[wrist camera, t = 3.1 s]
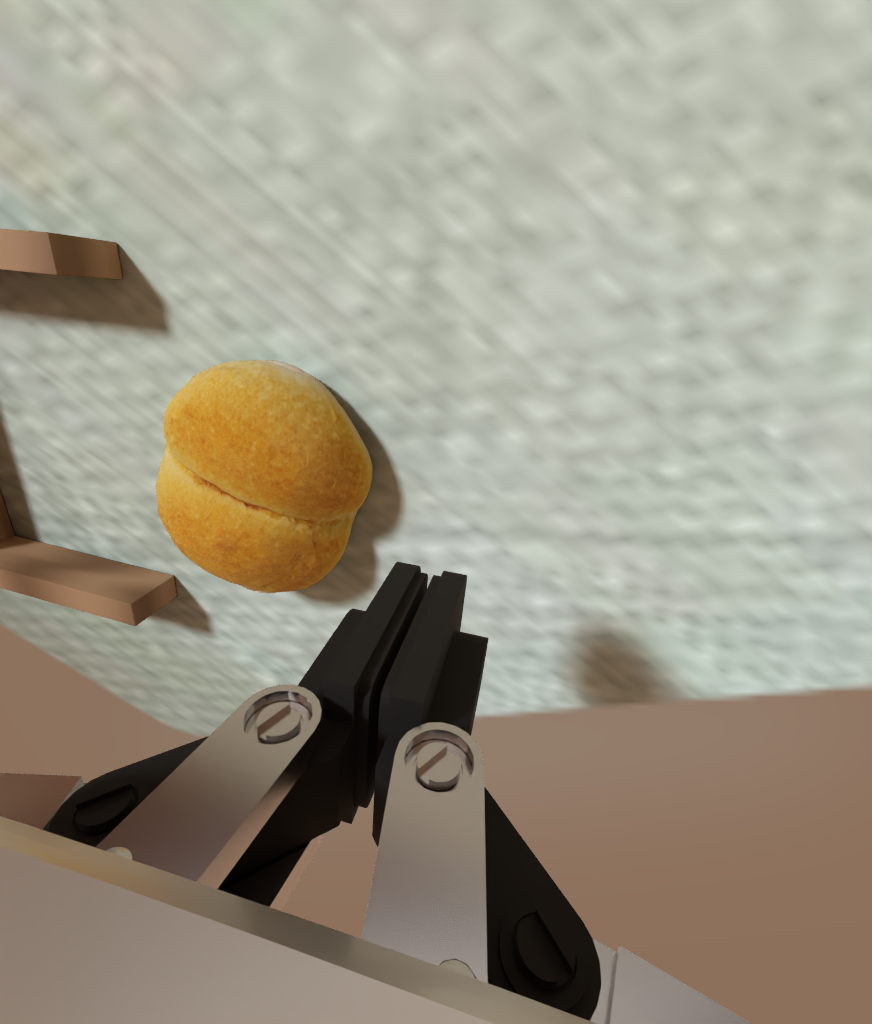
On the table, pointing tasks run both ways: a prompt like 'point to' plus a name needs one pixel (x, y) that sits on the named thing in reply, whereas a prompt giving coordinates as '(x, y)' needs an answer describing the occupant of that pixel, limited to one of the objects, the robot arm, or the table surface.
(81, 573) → the frame
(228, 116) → the table surface
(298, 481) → the bread roll
